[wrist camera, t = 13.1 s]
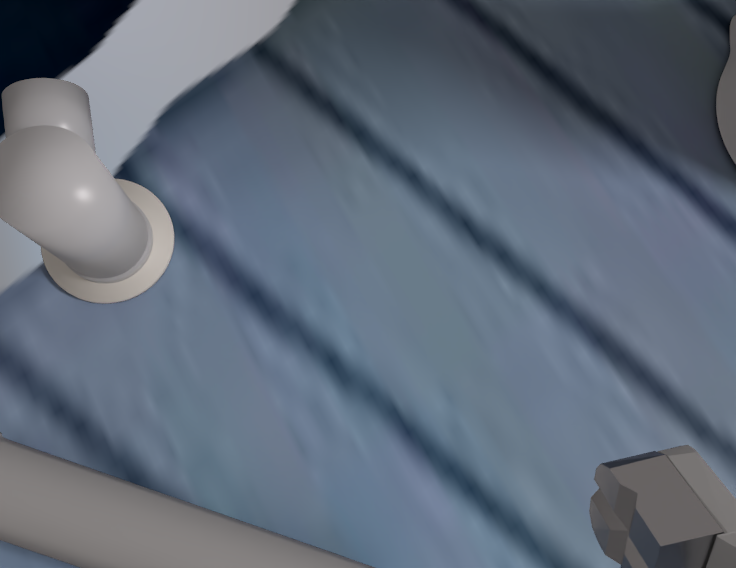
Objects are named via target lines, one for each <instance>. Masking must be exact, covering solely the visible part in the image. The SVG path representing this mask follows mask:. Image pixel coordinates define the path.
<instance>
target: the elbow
mask: <svg viewBox="0 0 736 568" xmlns="http://www.w3.org/2000/svg"><path fill="white" fill-rule="evenodd" d="M2 104H3V114H4V124H5V133H6V139H5V140H3V141H2V142H1V143H0V218H1V219H2V220H4V221H5V222H6V223H8V224H9V225H11V226H13V227H14V228H15V229H17V230H18V231H19V232H21V233H22V234H24V235H25V236H27V237H28V238H30V239H31V240H33V241H34V242H35V243H37V244H38V245H40V246H41V247H43V248H44V249H46V250H47V251H48V252H50V253H51V254H53V255H54V256H56V257H57V258H59V259H60V260H62V261H63V262H64V263H65V264H66V265H67V266H68V267H69V268H70V269H71V270H72V271H73V272H75V273H76V274H77V275H79V276H81V277H82V278H84V279H86V280H88V281H91V282H95V283H101V284H109V283H116V282H120V281H123V280H125V279H127V278H129V277H131V276H132V275H134V274H135V273H137V272H138V271H139V270H140V269H141V268H142V267H143V266H144V264H145V263H146V261H147V260H148V258H149V256H150V253H151V251H152V246H153V231H152V227H151V224H150V222H149V220H148V218H147V217H146V216H145V214H144V213H143V211H142V210H141V209H140V208H139V207H138V206H137V205H136V204H135V203H133V202H132V201H131V200H130V198H129V197H128V196H127V194H126V193H125V192H124V191H123V189H122V188H121V187H120V185H119V184H118V183H117V181H116V180H115V179H114V177H113V176H112V175H111V173H110V172H109V171H108V169H107V168H106V167H105V166H104V164H103V163H102V162H101V160H100V159H99V158H98V156H97V155H96V152H95V144H94V136H93V129H92V121H91V113H90V105H89V98H88V95H87V93H86V92H85V90H84V89H82V88H81V87H79V86H78V85H76V84H73V83H71V82H68V81H64V80H59V79H51V78H34V79H27V80H22V81H19V82H16V83H13V84H11V85H9V86H8V87H7V88H5V90H4V91H3V93H2Z"/></svg>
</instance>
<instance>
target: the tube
mask: <svg viewBox="0 0 736 568" xmlns="http://www.w3.org/2000/svg"><path fill="white" fill-rule="evenodd" d="M0 540H2V541H5V542H8V543H11V544H14V545H17V546H19V547H22V548H25V549H28V550H31V551H34V552H37V553H40V554H43V555H46V556H49V557H51V558H54V559H57V560H60V561H63V562H66V563H69V564H72V565H75V566H78V567H81V568H375V567H372V566H369V565H366V564H363V563H360V562H357V561H355V560H352V559H349V558H346V557H343V556H340V555H337V554H334V553H332V552H329V551H326V550H323V549H320V548H317V547H314V546H312V545H309V544H306V543H303V542H300V541H297V540H294V539H291V538H289V537H286V536H283V535H280V534H277V533H274V532H271V531H269V530H266V529H263V528H260V527H257V526H254V525H251V524H248V523H246V522H243V521H240V520H237V519H234V518H231V517H228V516H225V515H223V514H220V513H217V512H214V511H211V510H208V509H205V508H203V507H200V506H197V505H194V504H191V503H188V502H185V501H182V500H180V499H177V498H174V497H171V496H168V495H165V494H162V493H160V492H157V491H154V490H151V489H148V488H145V487H142V486H139V485H137V484H134V483H131V482H128V481H125V480H122V479H119V478H117V477H114V476H111V475H108V474H105V473H102V472H99V471H96V470H94V469H91V468H88V467H85V466H82V465H79V464H76V463H73V462H71V461H68V460H65V459H62V458H59V457H56V456H53V455H51V454H48V453H45V452H42V451H39V450H36V449H33V448H30V447H28V446H25V445H22V444H19V443H16V442H13V441H10V440H8V439H6V438H3V437H2V433H1V432H0Z"/></svg>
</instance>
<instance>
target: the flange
mask: <svg viewBox="0 0 736 568" xmlns="http://www.w3.org/2000/svg"><path fill="white" fill-rule="evenodd" d="M115 180H116V181H117V183H118V184H119V185H120V187H121V188H122V189H123V191H124V192H125V193H126V194H127V196H128V197H129V198H130V200H131V201H132V202H133V203H135V204H136V205H137V206H138V207H139V208H140V209H141V210H142V211H143V213H144V214H145V216H146V217H147V218H148V220H149V222H150V224H151V227H152V231H153V246H152V251H151V253H150V256H149V258H148V260H147V261H146V263H145V264H144V266H143V267H142V268H141V269H140V270H139V271H138V272H137V273H135V274H134V275H132V276H131V277H129V278H127V279H125V280H123V281H120V282H116V283H109V284H101V283H95V282H91V281H88V280H86V279H84V278H82V277H81V276H79V275H77V274H76V273H75V272H73V271H72V270H71V269H70V268H69V267H68V266H67V265H66V264H65V263H64V262H63V261H62V260H60V259H59V258H57V257H56V256H54V255H53V254H51V253H50V252H48V251H47V250H46V249H44V248H43V247H41V252H42V257H43V261H44V264H45V266H46V269H47V271H48V272H49V274H50V276H51V277H52V278H53V280H54V281H55V282H56V283H57V284H58V285H59V286H60V287H61V288H62V289H64V290H65V291H66V292H68V293H69V294H71V295H73V296H75V297H77V298H79V299H82V300H85V301H89V302H93V303H102V304H107V303H117V302H122V301H126V300H129V299H132V298H134V297H136V296H138V295H140V294H142V293H143V292H145V291H146V290H148V289H149V288H150V287H152V286H153V285H154V284H155V283H156V282H157V281H158V280H159V278H160V277H161V276H162V275H163V273H164V272H165V270H166V268H167V267H168V264H169V262H170V260H171V257H172V253H173V249H174V229H173V224H172V221H171V218H170V216H169V214H168V212H167V210H166V208H165V207H164V205H163V204H162V203H161V201H160V200H159V199H158V198H157V197H156V196H155V195H154V194H153V193H152V192H150V191H149V190H147V189H146V188H144V187H142V186H140V185H138V184H136V183H133V182H131V181H126V180H122V179H115Z"/></svg>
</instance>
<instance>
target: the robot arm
mask: <svg viewBox="0 0 736 568" xmlns="http://www.w3.org/2000/svg"><path fill="white" fill-rule="evenodd" d="M716 112H717V120H718V125H719V130H720V133H721V136H722V139H723V142H724V144H725V146H726V148H727V150H728V152H729V154H730V156H731V158H732V159H733V161H734V163H735V164H736V15H735V16H734V17H733V18H732V20H731V23H730V55H729V59H728V62H727V64H726V66H725V68H724V71H723V73H722V75H721V78H720V81H719V85H718V90H717V98H716ZM594 480H595V481H596V483H597V485H598V486H599V489H598V490H597V492H596V493H595V494H594V495H593V496H592V497H591V502H590V510H589V512H590V517H591V523H592V528H593V530H594V533H595V536H596V538H597V541H598V543H599V544H600V546H601V548H602V550H603V552H604V554H605V555H606V556H608V557H610V558H611V559H613V560H614V561H616V562H617V563H619V564H621V568H736V499H735V498H734V496H733V495H732V494H731V493H730V491H729V490H728V489H727V488H726V487H725V485H724V484H723V483H722V482H721V480H720V479H719V478H718V477H717V476H716V474H715V473H714V472H713V471H712V469H711V468H710V467H709V466H708V465H707V463H706V462H705V461H704V460H703V459H702V457H701V456H700V455H699V454H698V452H697V451H696V450H695V449H694V448H692V447H690V446H689V445H684V446H679V447H674V448H670V449H666V450H662V451H658V452H656V451H653V452H648V453H644V454H640V455H636V456H631V457H627V458H623V459H618V460H614V461H610V462H606V463H601V464H600V465H599V466H598V467H597V468H596V473H595V478H594Z"/></svg>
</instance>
